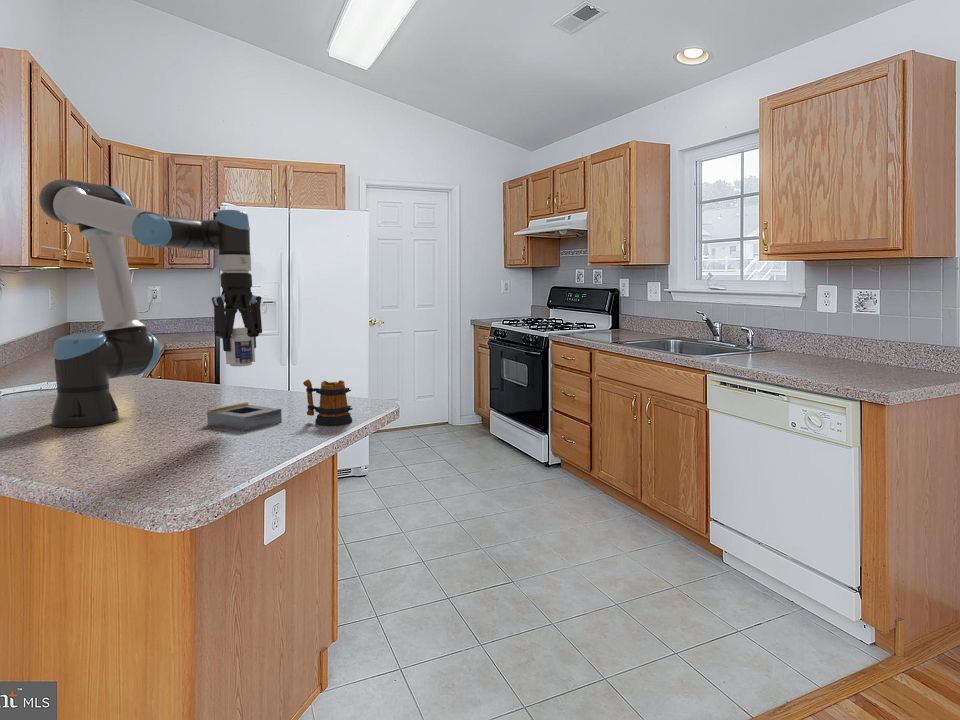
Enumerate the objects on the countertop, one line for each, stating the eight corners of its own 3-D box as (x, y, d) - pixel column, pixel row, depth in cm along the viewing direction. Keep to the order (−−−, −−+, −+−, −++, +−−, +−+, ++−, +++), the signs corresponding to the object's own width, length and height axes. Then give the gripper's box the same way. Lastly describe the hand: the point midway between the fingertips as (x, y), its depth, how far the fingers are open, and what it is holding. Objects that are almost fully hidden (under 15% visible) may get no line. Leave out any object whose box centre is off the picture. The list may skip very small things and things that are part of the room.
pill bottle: (244, 367, 157) (242, 328, 155) (225, 366, 158) (223, 328, 157) (256, 364, 162) (254, 327, 161) (238, 364, 163) (235, 327, 162)
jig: (207, 425, 160) (206, 409, 160) (245, 416, 171) (244, 402, 170) (244, 431, 153) (244, 415, 153) (281, 421, 164) (281, 406, 163)
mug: (357, 418, 169) (356, 376, 167) (348, 426, 159) (347, 382, 157) (310, 418, 169) (308, 376, 168) (298, 426, 159) (296, 382, 158)
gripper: (214, 271, 147) (220, 367, 150) (274, 272, 163) (278, 359, 166) (194, 272, 151) (200, 366, 154) (254, 273, 167) (259, 358, 170)
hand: (240, 362), depth 160 cm, fingers closed on pill bottle, 5 cm apart
